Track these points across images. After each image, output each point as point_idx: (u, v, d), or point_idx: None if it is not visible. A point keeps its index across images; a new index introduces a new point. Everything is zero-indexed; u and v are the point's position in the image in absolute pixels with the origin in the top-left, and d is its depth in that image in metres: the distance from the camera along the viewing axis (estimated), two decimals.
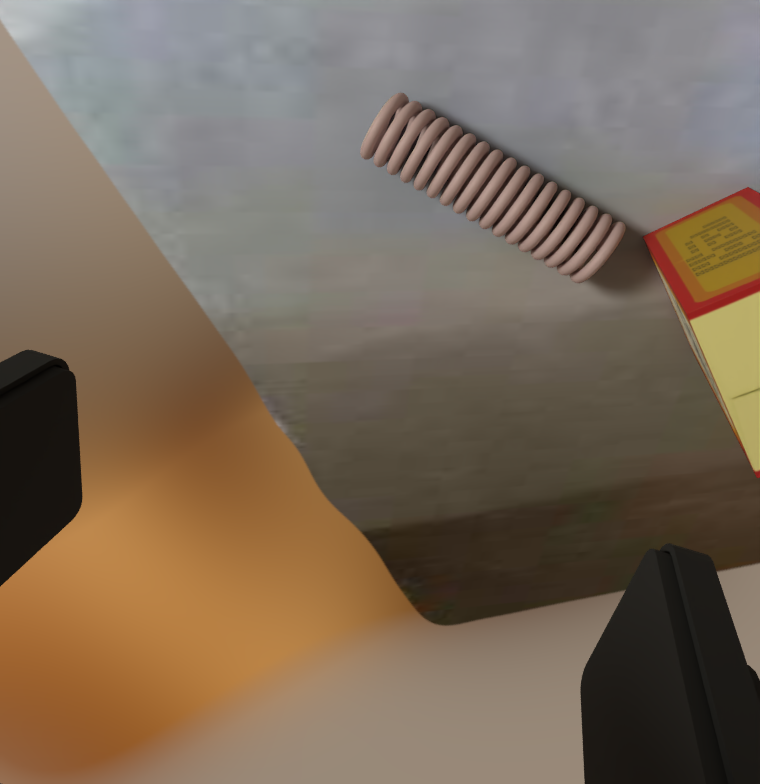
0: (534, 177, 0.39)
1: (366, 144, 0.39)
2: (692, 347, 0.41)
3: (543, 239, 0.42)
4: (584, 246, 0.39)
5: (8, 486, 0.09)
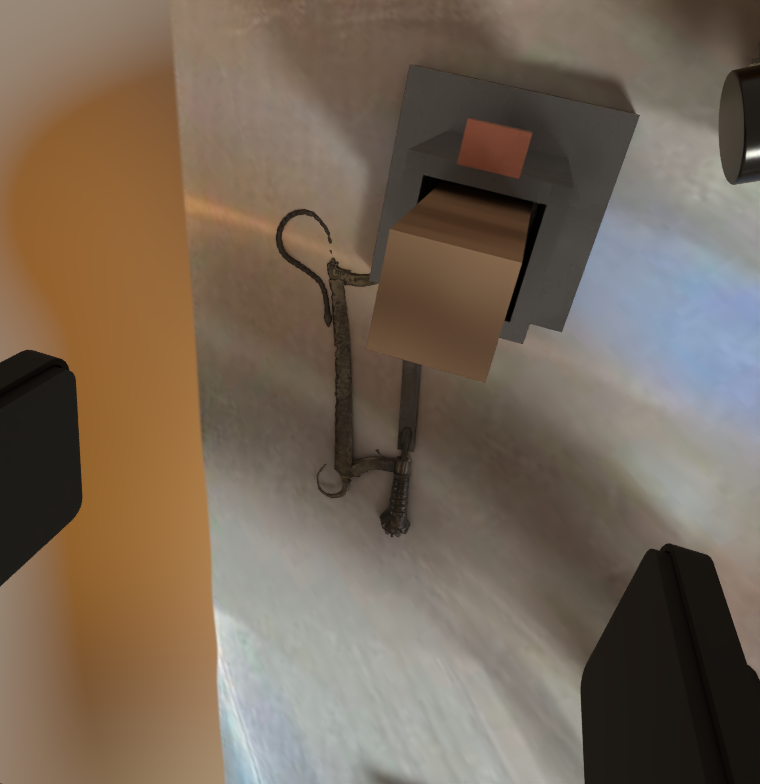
0: None
1: None
2: None
3: None
4: None
5: (8, 486, 0.09)
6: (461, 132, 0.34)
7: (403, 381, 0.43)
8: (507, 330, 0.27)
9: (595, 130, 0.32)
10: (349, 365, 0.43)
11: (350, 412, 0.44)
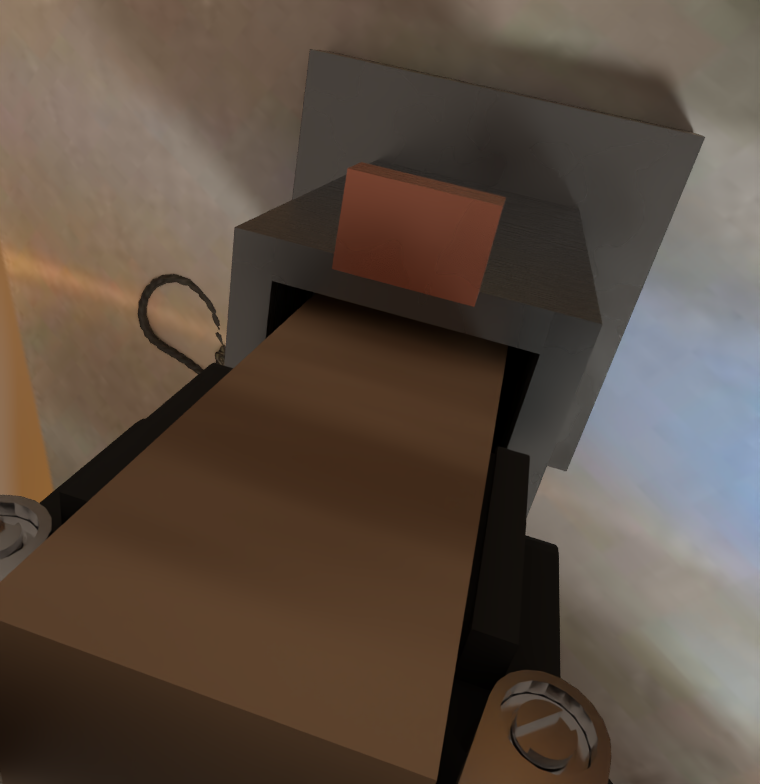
0: None
1: None
2: None
3: None
4: None
5: None
6: (400, 163, 0.20)
7: None
8: None
9: (626, 162, 0.19)
10: None
11: None
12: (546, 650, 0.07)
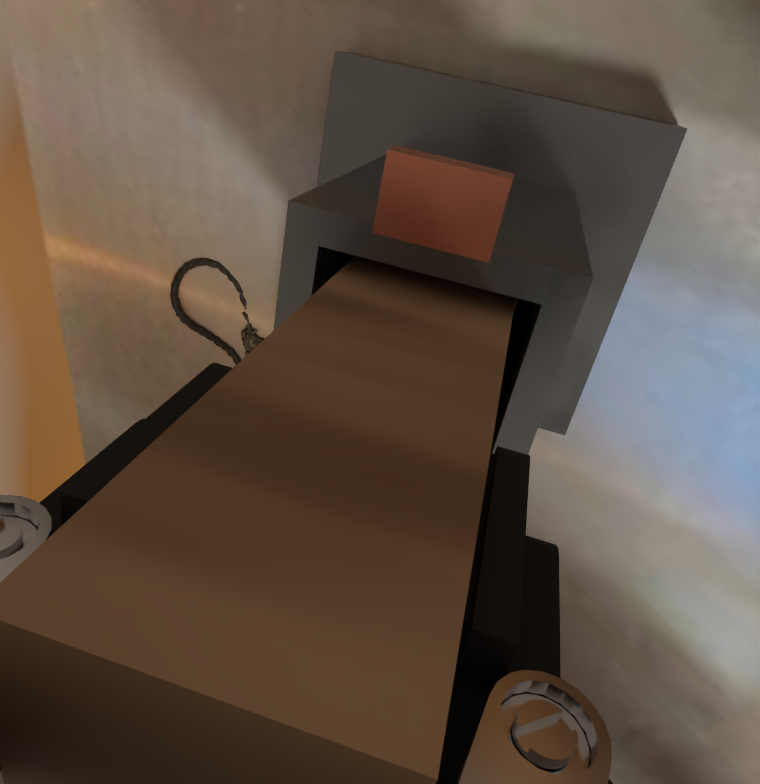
0: None
1: None
2: None
3: None
4: None
5: None
6: None
7: None
8: None
9: (617, 151, 0.21)
10: None
11: None
12: (546, 650, 0.07)
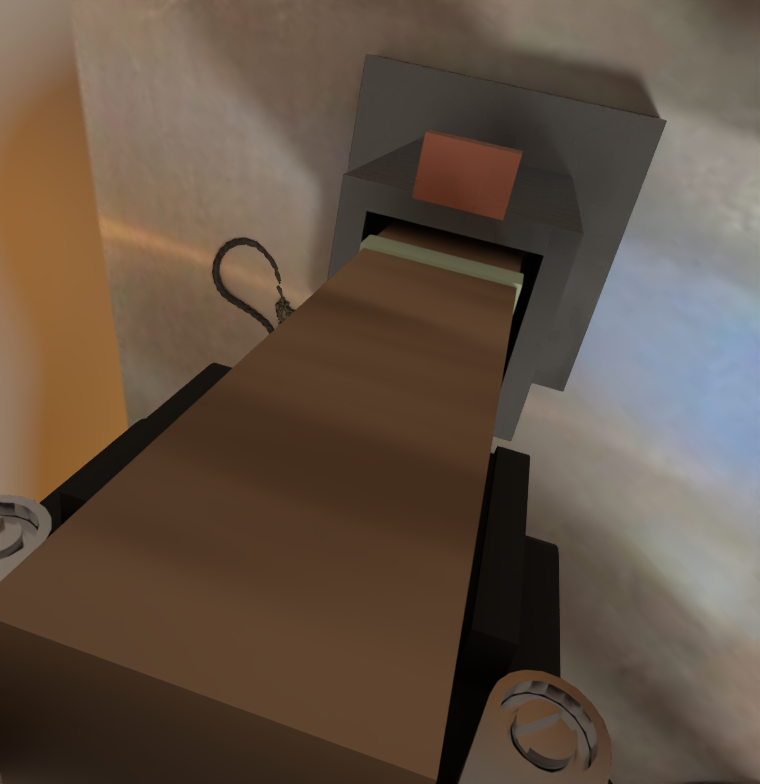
0: None
1: None
2: None
3: None
4: None
5: None
6: None
7: None
8: None
9: (607, 140, 0.24)
10: None
11: None
12: (547, 650, 0.07)
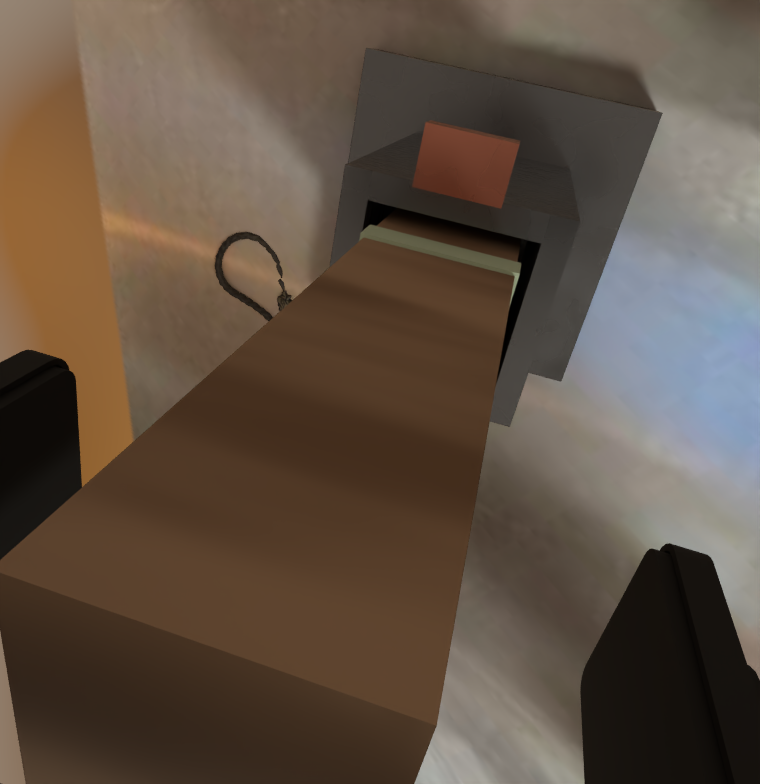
0: None
1: None
2: None
3: None
4: None
5: (8, 486, 0.09)
6: None
7: None
8: None
9: (604, 132, 0.25)
10: None
11: None
12: None
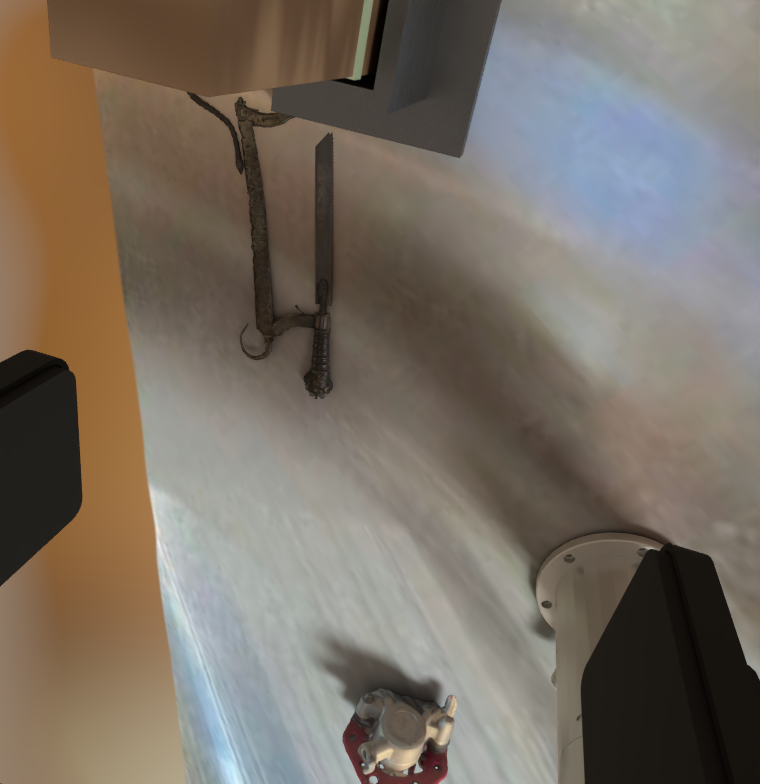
0: None
1: None
2: None
3: None
4: None
5: (8, 486, 0.09)
6: None
7: (317, 229, 0.43)
8: (371, 100, 0.27)
9: None
10: (263, 214, 0.43)
11: (267, 266, 0.45)
12: None
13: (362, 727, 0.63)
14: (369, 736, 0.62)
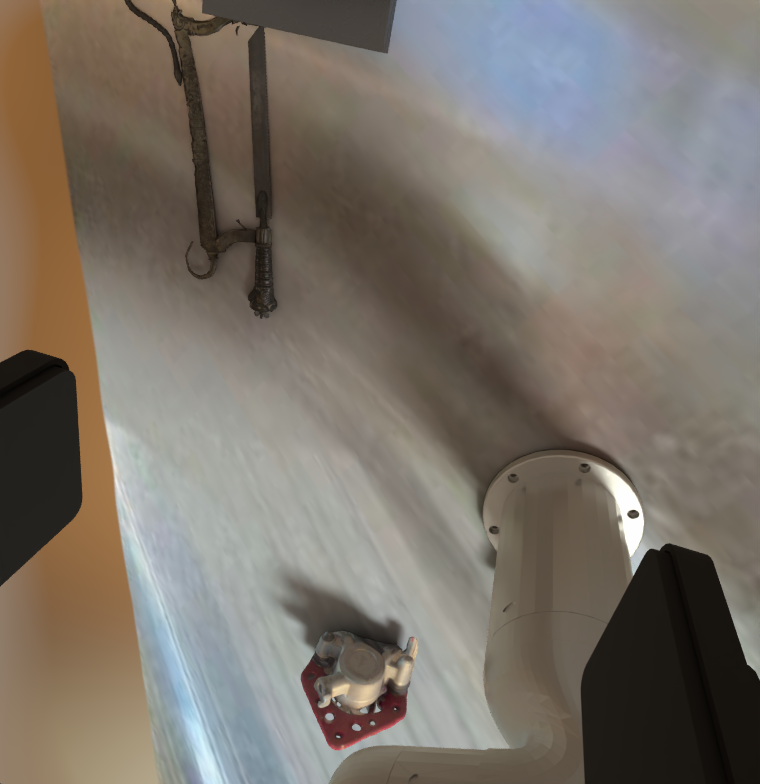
0: None
1: None
2: None
3: None
4: None
5: (8, 486, 0.09)
6: None
7: (254, 140, 0.44)
8: None
9: None
10: (202, 126, 0.44)
11: (209, 179, 0.46)
12: None
13: (321, 667, 0.62)
14: (328, 676, 0.61)
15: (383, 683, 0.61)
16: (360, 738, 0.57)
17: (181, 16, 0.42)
